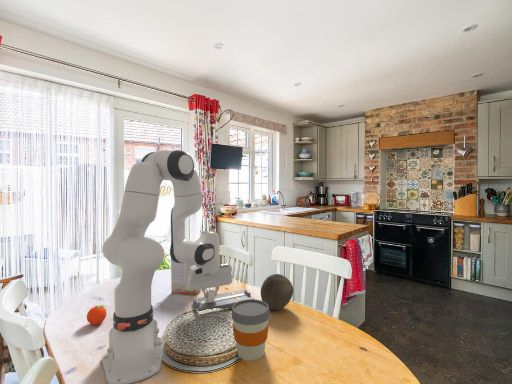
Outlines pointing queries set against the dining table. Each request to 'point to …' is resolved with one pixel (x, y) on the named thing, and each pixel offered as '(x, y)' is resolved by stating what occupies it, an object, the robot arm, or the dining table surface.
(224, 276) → the robot arm
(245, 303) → the reusable coffee cup
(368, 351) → the dining table surface
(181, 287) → the cracker box
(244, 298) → the console
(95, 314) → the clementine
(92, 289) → the dining table surface
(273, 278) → the dark grey stone
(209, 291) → the fader
